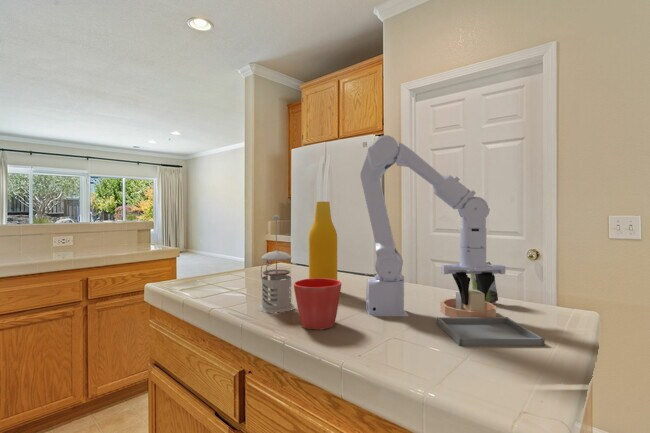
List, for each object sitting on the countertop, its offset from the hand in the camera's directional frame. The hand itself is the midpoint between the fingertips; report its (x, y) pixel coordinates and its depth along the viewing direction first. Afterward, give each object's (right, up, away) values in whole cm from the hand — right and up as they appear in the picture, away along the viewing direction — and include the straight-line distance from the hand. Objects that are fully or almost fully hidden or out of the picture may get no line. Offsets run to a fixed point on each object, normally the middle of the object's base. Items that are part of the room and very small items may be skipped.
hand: (472, 303), depth 81 cm
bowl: (0, -4, +3) cm, 5 cm away
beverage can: (+9, -4, +14) cm, 17 cm away
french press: (-49, -4, +11) cm, 50 cm away
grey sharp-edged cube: (0, -3, +5) cm, 6 cm away
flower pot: (-37, -4, -3) cm, 37 cm away
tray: (-2, -4, -11) cm, 11 cm away
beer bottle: (-36, -4, +28) cm, 46 cm away
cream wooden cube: (0, -1, -1) cm, 1 cm away
